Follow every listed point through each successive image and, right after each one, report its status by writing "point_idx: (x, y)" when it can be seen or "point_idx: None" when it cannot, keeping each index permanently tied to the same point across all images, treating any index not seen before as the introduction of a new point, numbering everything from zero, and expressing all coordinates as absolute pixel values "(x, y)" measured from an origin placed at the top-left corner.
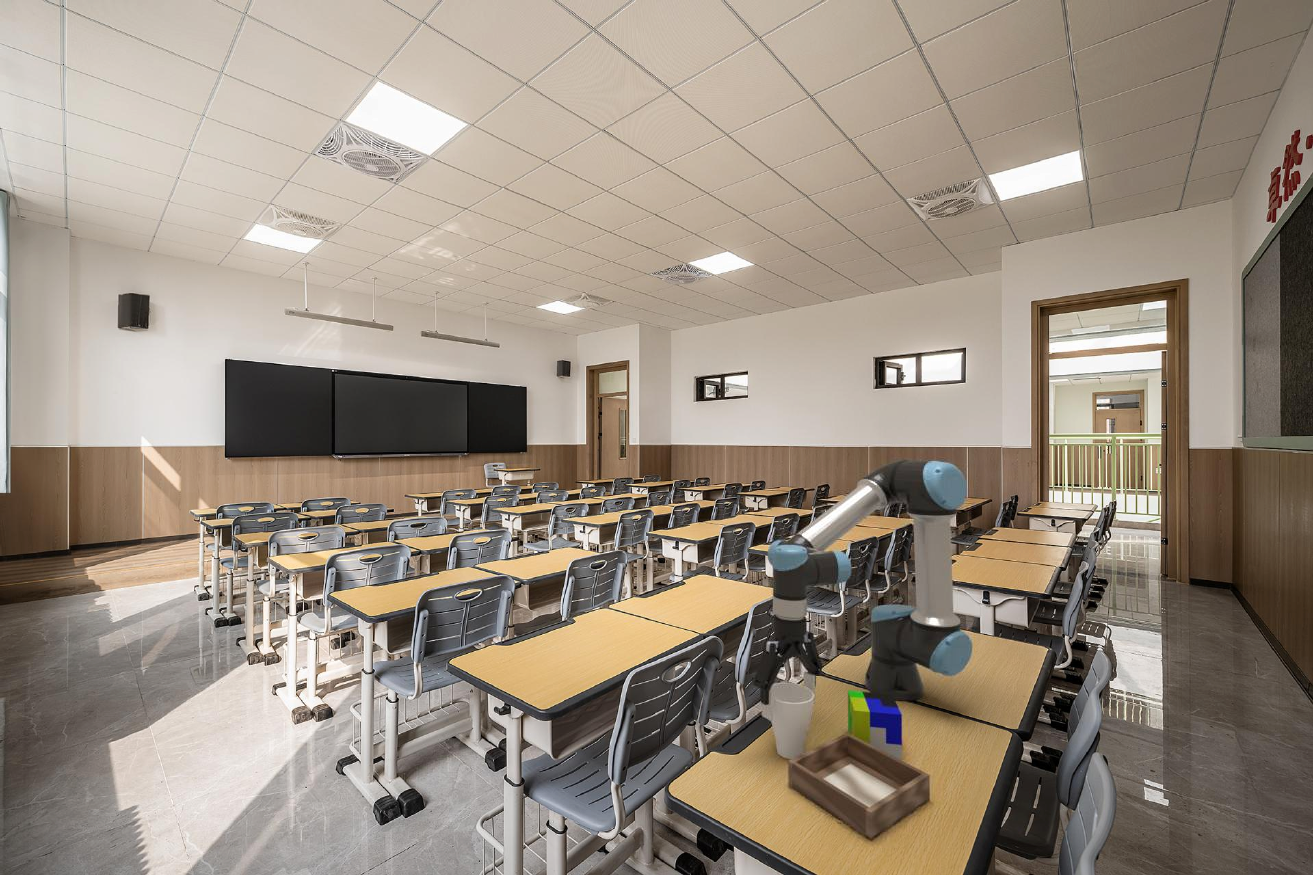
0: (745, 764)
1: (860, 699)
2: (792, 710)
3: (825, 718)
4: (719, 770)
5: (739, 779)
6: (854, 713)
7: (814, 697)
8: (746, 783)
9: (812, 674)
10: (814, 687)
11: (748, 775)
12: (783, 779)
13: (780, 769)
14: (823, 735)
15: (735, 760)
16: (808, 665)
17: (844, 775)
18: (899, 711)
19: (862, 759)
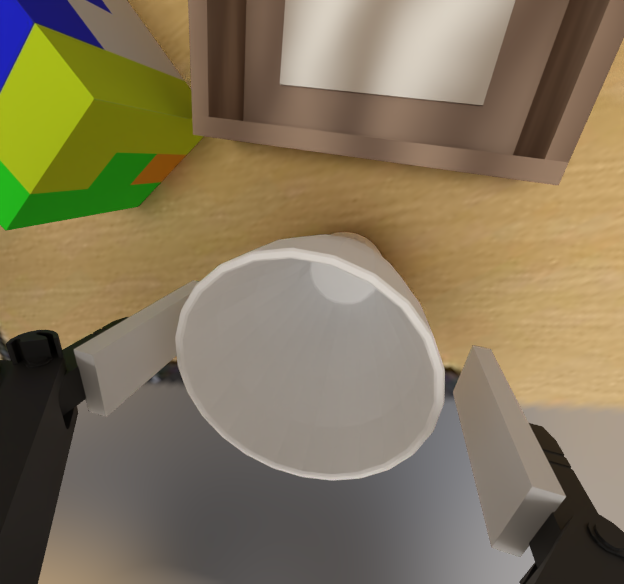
0: (491, 329)
1: (3, 143)
2: (411, 297)
3: (141, 282)
4: (570, 366)
5: (581, 306)
6: (106, 100)
7: (177, 290)
8: (591, 281)
9: (80, 365)
10: (141, 312)
11: (542, 297)
12: (493, 210)
13: (447, 245)
14: (206, 245)
15: None
16: (40, 437)
17: (357, 54)
18: None
19: (238, 55)
